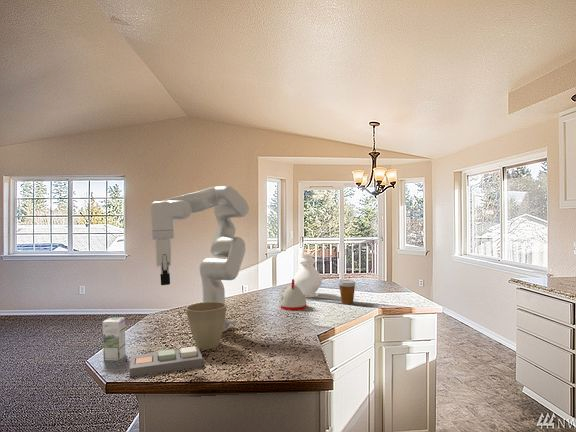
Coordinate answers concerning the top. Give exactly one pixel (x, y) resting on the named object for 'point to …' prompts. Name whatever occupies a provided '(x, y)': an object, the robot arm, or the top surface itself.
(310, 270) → the decorative vase
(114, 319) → the syrup box
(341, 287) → the disposable coffee cup
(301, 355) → the top surface
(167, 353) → the sage button
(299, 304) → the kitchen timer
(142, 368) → the button panel
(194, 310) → the plant pot
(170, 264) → the robot arm
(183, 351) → the cream button
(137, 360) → the terracotta button
